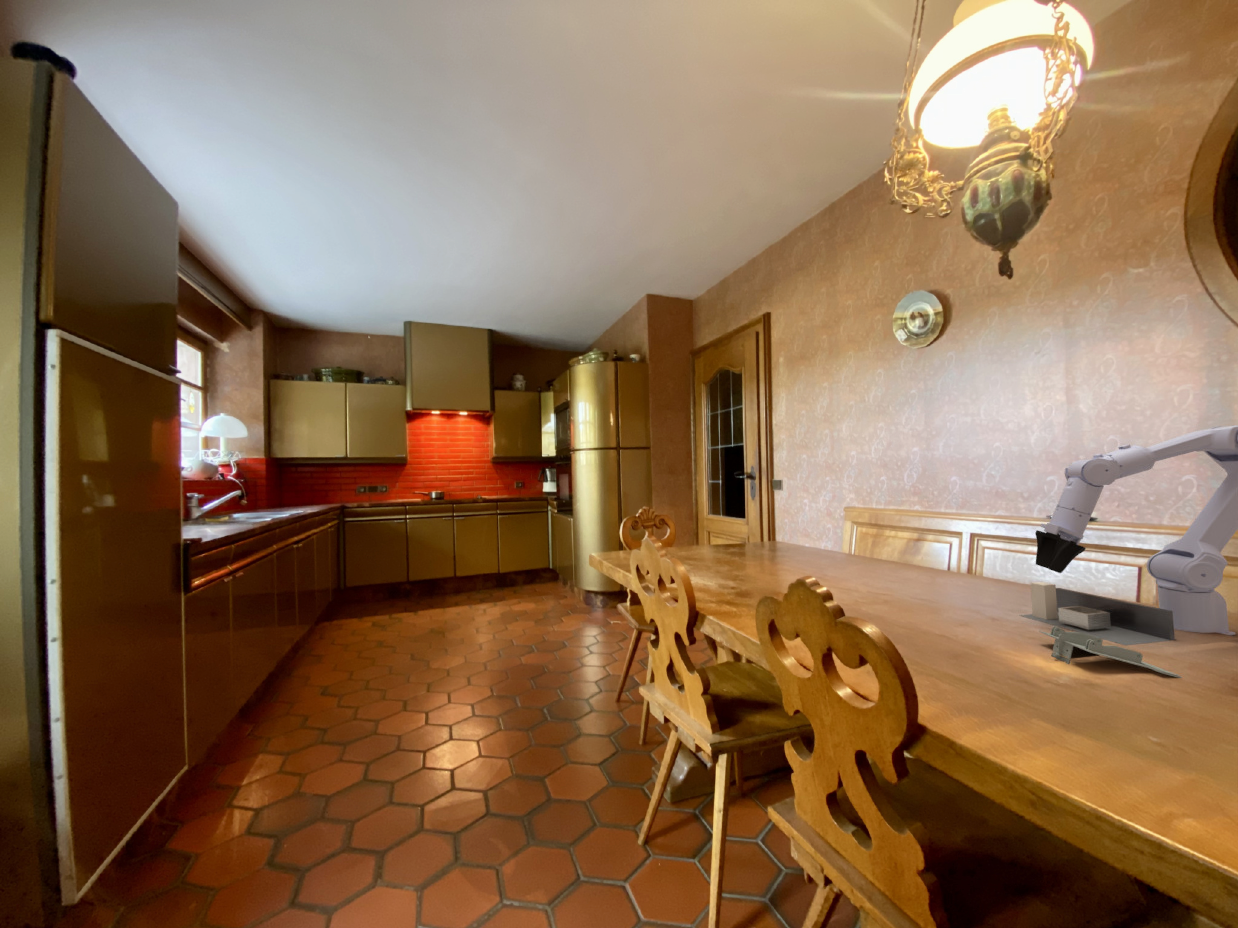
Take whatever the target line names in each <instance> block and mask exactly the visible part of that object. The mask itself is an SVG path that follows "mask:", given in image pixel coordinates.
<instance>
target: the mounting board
mask: <svg viewBox="0 0 1238 928" xmlns="http://www.w3.org/2000/svg"><path fill="white" fill-rule="evenodd" d="M1057 613H1058V618H1057V619H1047V620H1046V619H1043V618H1039V617H1035V616H1033V614H1032V613H1030V614H1029V613H1028V614H1019V617H1023V618H1026V619H1030V620H1033V621H1037V622H1041V623H1044V624H1047V625H1052V626H1057V627H1059V628H1061V629H1066V630H1070V631H1071V632H1080V633H1083V634H1087V635H1091V636H1095V637H1098V638H1101V639H1102V640H1105V641H1107V642H1108V641H1109V642H1113V643H1115V644H1119V645H1122V646H1133V645H1142V644H1150V643H1151V644H1154V643H1160V642H1170V641H1172V640H1167V639H1163V638H1159V637H1155V636H1151V635H1147V634H1144V633H1140V632H1136V631H1132V630H1128V629H1124V628H1120V627H1116V626H1112V625H1111V628H1101V629H1091V630H1088V629H1084V628H1080V627H1077V626H1073V625H1069V624H1066V623H1062V622H1059V612H1057ZM1174 641H1177V638H1175V640H1174Z"/></svg>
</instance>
